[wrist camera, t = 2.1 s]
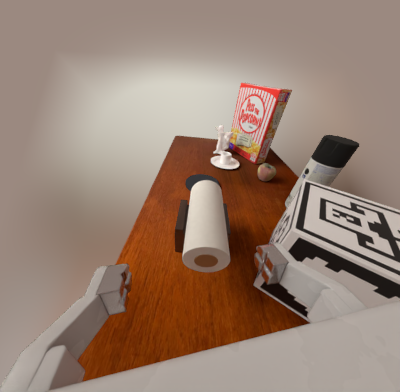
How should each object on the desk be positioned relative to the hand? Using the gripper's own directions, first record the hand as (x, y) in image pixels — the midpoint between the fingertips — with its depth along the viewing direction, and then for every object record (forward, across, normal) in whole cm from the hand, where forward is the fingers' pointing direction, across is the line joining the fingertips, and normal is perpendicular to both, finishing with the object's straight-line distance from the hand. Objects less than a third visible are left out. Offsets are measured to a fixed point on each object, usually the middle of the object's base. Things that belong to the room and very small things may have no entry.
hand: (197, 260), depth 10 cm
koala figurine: (+64, -23, +7) cm, 69 cm away
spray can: (+26, -35, +15) cm, 46 cm away
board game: (+63, -35, +7) cm, 72 cm away
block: (+8, -22, +18) cm, 30 cm away
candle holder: (+54, -22, +9) cm, 58 cm away
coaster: (+39, -9, +12) cm, 42 cm away
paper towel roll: (+14, -4, +8) cm, 17 cm away
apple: (+41, -32, +12) cm, 54 cm away
